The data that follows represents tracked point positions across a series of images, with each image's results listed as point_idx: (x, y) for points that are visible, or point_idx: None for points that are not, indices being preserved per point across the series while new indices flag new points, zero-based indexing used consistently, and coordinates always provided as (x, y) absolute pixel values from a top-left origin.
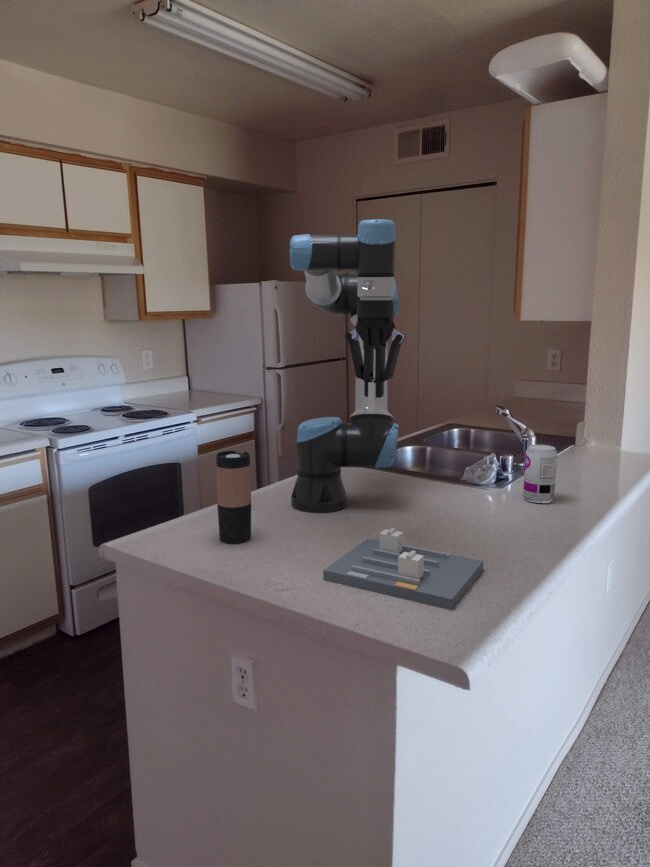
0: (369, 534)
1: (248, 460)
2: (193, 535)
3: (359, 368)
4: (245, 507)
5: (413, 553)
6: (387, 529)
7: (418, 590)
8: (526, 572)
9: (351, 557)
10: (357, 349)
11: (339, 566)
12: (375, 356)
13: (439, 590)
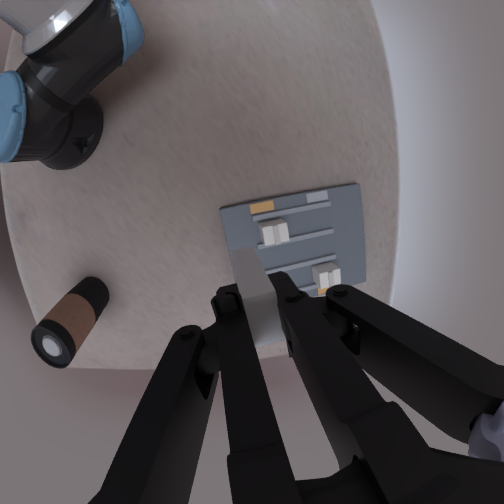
0: (192, 169)
1: (67, 338)
2: None
3: (211, 400)
4: (95, 313)
5: (333, 278)
6: (265, 227)
7: None
8: (384, 163)
9: None
10: (179, 479)
11: None
12: (325, 429)
13: (352, 274)
